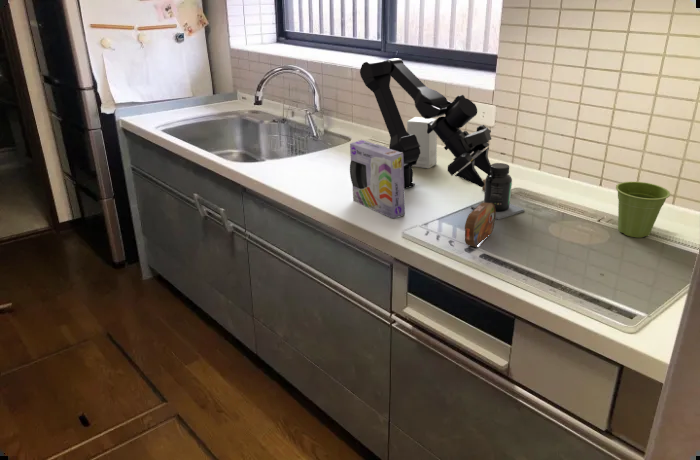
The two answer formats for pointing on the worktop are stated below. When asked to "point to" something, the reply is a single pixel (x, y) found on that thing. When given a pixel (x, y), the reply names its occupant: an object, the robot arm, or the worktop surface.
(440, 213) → the worktop surface
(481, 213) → the tin
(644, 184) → the plant pot
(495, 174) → the supplement bottle
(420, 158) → the skincare box
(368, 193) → the cake pan box
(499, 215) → the slate mat
